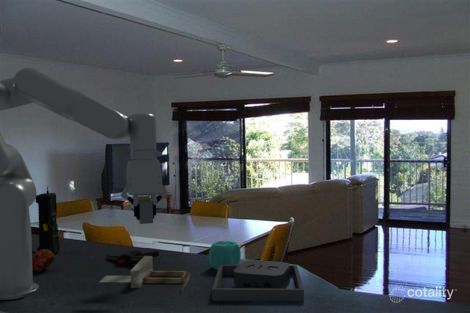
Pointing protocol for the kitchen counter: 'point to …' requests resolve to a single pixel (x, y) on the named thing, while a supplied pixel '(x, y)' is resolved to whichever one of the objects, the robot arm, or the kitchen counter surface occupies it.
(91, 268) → the kitchen counter surface
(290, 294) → the dark rectangular frame
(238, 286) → the streaming box
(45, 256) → the pomegranate
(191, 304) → the kitchen counter surface
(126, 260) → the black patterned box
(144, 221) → the latch bar
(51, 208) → the portable radio
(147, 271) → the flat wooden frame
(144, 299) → the kitchen counter surface
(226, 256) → the decorative dice
